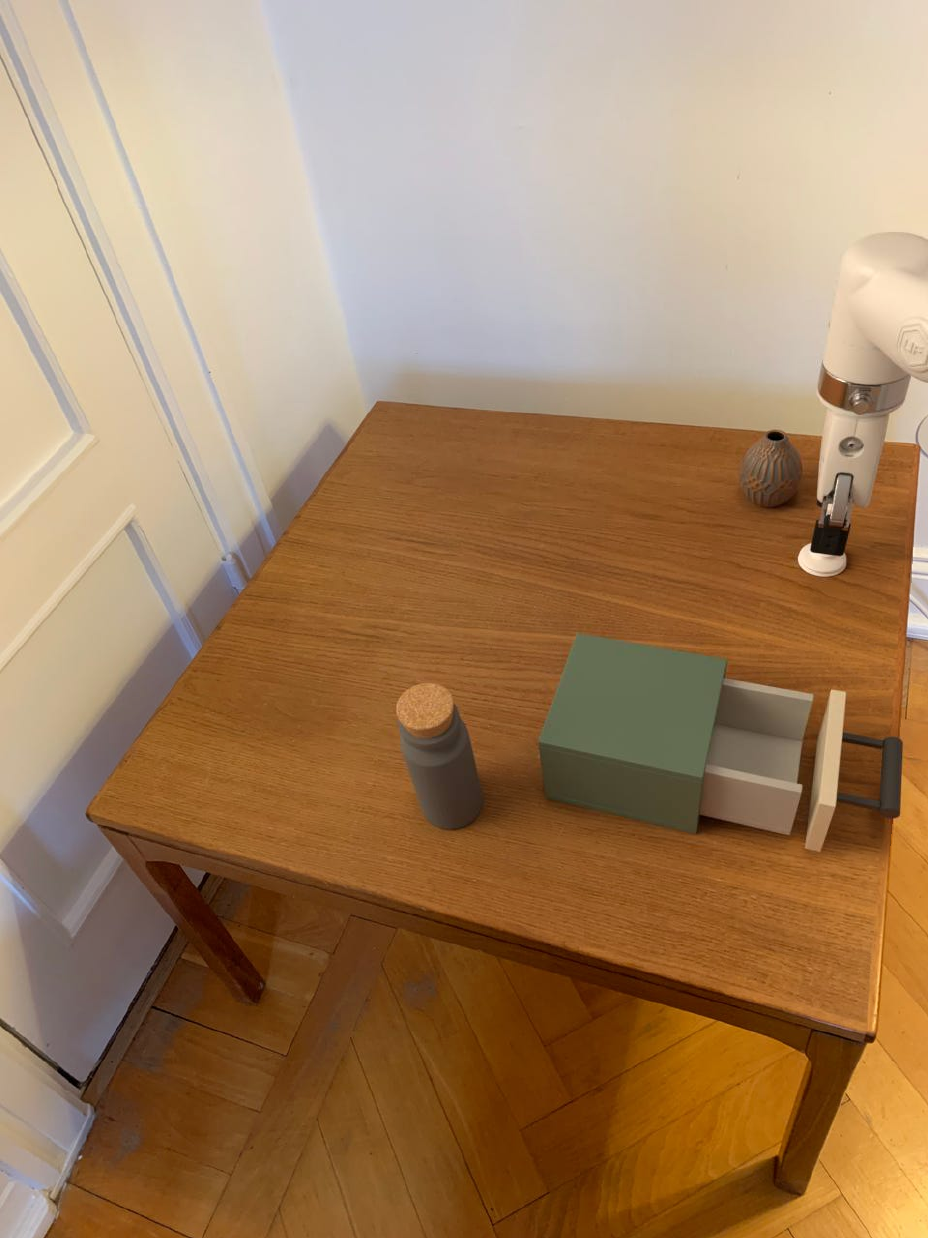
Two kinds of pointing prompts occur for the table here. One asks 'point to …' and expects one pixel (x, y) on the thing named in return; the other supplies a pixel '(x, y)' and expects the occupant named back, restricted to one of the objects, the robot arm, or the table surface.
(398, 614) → the table surface
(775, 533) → the table surface
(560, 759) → the cabinet
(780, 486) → the vase
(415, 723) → the bottle
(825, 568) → the chess piece
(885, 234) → the robot arm
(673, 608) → the table surface
